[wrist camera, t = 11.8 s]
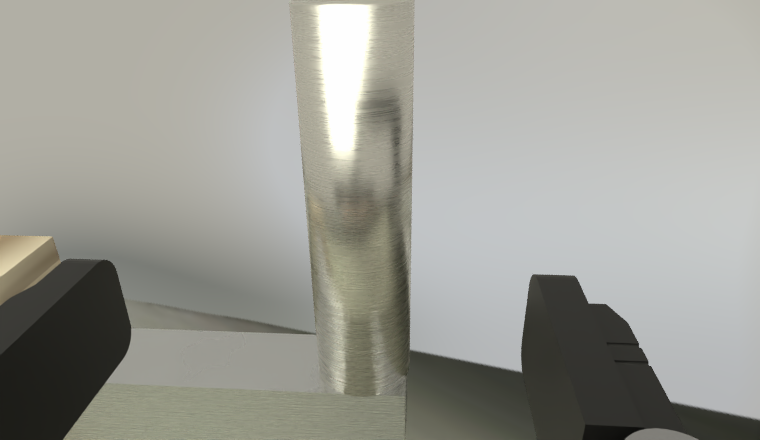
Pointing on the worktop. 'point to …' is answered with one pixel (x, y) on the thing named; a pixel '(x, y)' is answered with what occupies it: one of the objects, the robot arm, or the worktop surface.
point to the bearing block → (24, 262)
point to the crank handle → (328, 267)
